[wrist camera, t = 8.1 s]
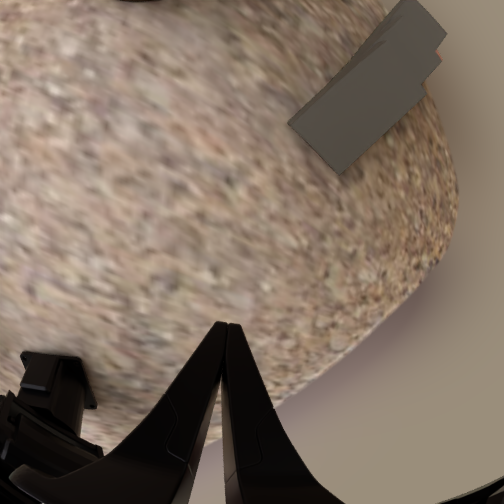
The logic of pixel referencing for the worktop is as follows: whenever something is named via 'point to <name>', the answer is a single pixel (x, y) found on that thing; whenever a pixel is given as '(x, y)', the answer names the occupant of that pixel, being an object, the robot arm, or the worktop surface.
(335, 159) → the domino
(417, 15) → the domino
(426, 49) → the domino
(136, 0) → the olive oil
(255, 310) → the worktop surface
